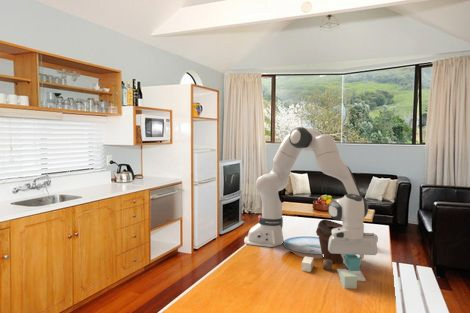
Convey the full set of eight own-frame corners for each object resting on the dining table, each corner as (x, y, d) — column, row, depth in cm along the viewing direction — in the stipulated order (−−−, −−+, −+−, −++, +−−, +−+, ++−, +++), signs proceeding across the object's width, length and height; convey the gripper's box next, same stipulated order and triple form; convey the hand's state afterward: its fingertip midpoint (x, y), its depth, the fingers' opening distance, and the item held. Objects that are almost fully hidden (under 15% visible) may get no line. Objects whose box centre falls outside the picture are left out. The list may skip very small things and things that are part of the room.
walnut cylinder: (323, 270, 159) (323, 262, 159) (322, 267, 163) (322, 258, 163) (332, 271, 159) (333, 262, 158) (331, 267, 163) (331, 259, 162)
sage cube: (340, 283, 147) (344, 288, 142) (340, 271, 146) (344, 276, 141) (352, 283, 147) (356, 288, 142) (352, 271, 146) (357, 276, 142)
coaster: (340, 279, 150) (341, 278, 149) (337, 270, 159) (337, 269, 159) (365, 281, 148) (365, 279, 148) (360, 271, 158) (360, 270, 158)
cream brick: (301, 271, 159) (301, 262, 159) (304, 264, 166) (304, 256, 166) (310, 272, 158) (310, 263, 157) (313, 265, 165) (313, 257, 165)
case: (360, 267, 163) (361, 228, 162) (315, 263, 167) (316, 226, 166) (355, 254, 181) (356, 219, 179) (315, 251, 185) (315, 217, 183)
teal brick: (344, 263, 157) (344, 252, 157) (353, 263, 158) (353, 252, 157) (350, 270, 150) (350, 259, 149) (359, 271, 150) (360, 259, 149)
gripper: (375, 231, 154) (374, 262, 155) (327, 229, 157) (327, 259, 158) (380, 235, 148) (378, 267, 149) (330, 233, 150) (329, 265, 151)
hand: (351, 263), depth 153 cm, fingers closed on teal brick, 4 cm apart
